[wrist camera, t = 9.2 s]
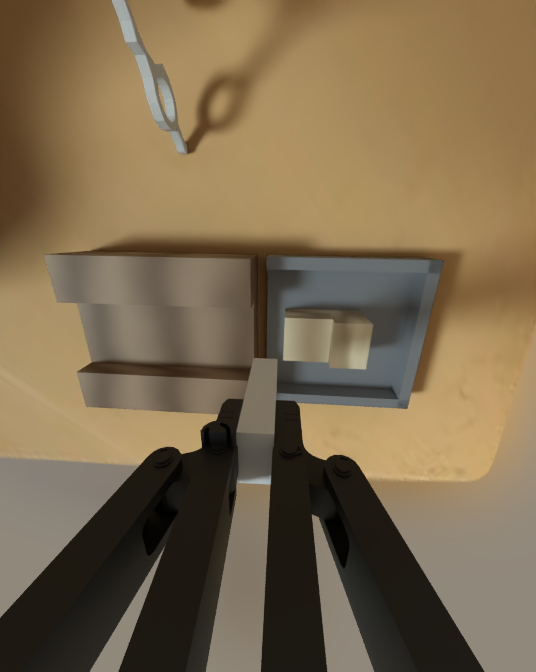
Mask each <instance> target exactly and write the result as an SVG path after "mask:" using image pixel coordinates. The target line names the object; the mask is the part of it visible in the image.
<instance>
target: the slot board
mask: <svg viewBox="0 0 536 672" xmlns="http://www.w3.org/2000/svg"><path fill="white" fill-rule="evenodd" d="M44 257H45V261H46V264H47V268H48V272H49V275H50V279H51V282H52V286H53V289H54V293H55V297H56V300H57V302H62V303H77V305H78V309H79V313H80V317H81V321H82V325H83V329H84V333H85V337H86V341H87V345H88V349H89V353H90V357H91V361H92V363H90V364H89V365H87V366H86V367H84V368H82V369H81V370H79V371H78V372H77V375H78V379H79V382H80V386H81V390H82V393H83V397H84V400H85V404H86V407H100V408H117V409H134V410H151V411H168V412H186V413H203V414H219V412H220V409H221V406H222V404H223V403H224V402H225V401H226V400H227V399H244V397H245V393H246V388H247V384H248V380H249V376H250V371H251V367H252V363H253V358H258V254H212V253H163V252H115V251H83V252H70V253H58V254H45V255H44Z"/></svg>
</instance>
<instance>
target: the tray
mask: <svg viewBox="0 0 536 672" xmlns="http://www.w3.org/2000/svg"><path fill="white" fill-rule="evenodd" d="M443 262H444V260H437V259H431V258H406V257H357V256H309V255H268V256H267V257H266V269H268V295H267V359H278V360H277V392H276V400H288V401H295V402H296V403H310V404H328V405H347V406H365V407H384V408H402V409H407V408H408V404H409V400H410V396H411V392H412V388H413V383H414V379H415V375H416V371H417V367H418V363H419V359H420V355H421V351H422V347H423V343H424V339H425V335H426V331H427V327H428V323H429V319H430V315H431V310H432V306H433V302H434V298H435V294H436V290H437V286H438V282H439V278H440V274H441V270H442V266H443ZM285 309H315V310H346V311H361V312H362V313H363V314H364V315H365V316H366V317H367V318H368V319H369V321H370V322H371V323H372V324H373V330H372V336H371V342H370V348H369V354H368V360H367V365H366V369H345V368H330V366H329V363H327V362H305V361H283V349H284V325H285Z"/></svg>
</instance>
